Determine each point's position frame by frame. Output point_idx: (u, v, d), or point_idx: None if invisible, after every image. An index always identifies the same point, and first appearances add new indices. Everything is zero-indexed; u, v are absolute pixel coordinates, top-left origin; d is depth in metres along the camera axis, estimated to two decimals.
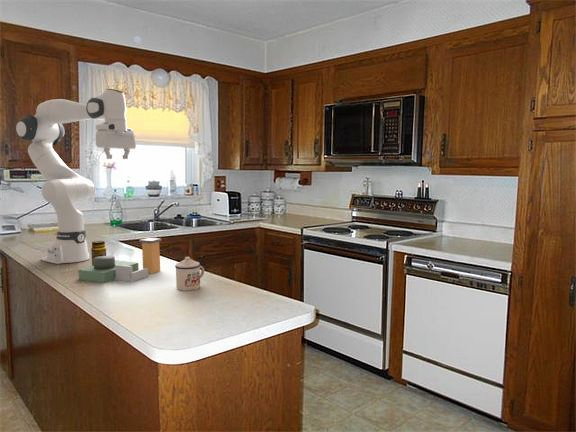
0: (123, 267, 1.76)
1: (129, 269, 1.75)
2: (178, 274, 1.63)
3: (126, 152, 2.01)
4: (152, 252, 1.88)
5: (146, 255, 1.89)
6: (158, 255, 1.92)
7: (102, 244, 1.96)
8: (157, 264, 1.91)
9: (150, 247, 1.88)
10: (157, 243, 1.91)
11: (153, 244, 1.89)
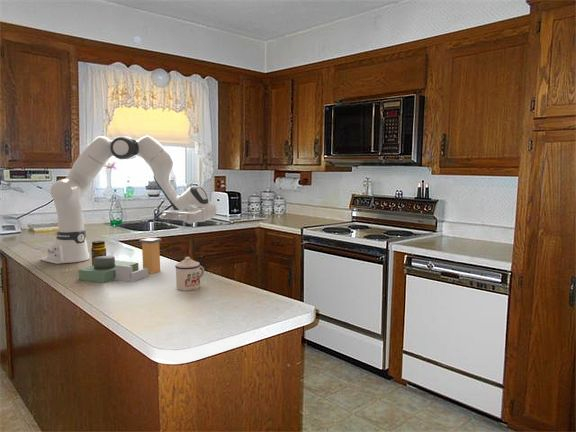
0: (123, 267, 1.76)
1: (129, 269, 1.75)
2: (178, 274, 1.63)
3: (165, 216, 2.05)
4: (152, 252, 1.88)
5: (146, 255, 1.89)
6: (158, 255, 1.92)
7: (102, 244, 1.96)
8: (157, 264, 1.91)
9: (150, 247, 1.88)
10: (157, 243, 1.91)
11: (153, 244, 1.89)
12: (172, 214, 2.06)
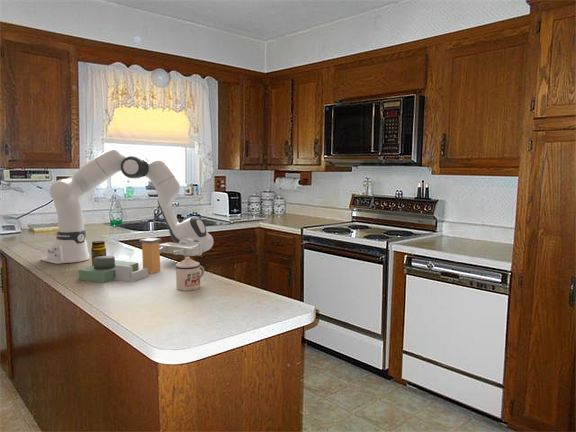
0: (123, 267, 1.76)
1: (129, 269, 1.75)
2: (178, 274, 1.63)
3: None
4: (152, 252, 1.88)
5: (146, 255, 1.89)
6: (158, 255, 1.92)
7: (102, 244, 1.96)
8: (157, 264, 1.91)
9: (150, 247, 1.88)
10: (157, 243, 1.91)
11: (153, 244, 1.89)
12: (169, 248, 2.06)
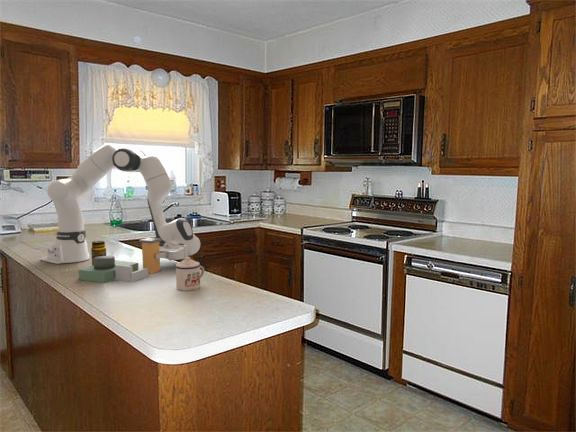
0: (123, 267, 1.76)
1: (129, 269, 1.75)
2: (178, 274, 1.63)
3: None
4: (152, 252, 1.88)
5: (146, 255, 1.89)
6: None
7: (102, 244, 1.96)
8: (157, 264, 1.91)
9: (150, 247, 1.88)
10: (157, 243, 1.91)
11: (153, 244, 1.89)
12: None
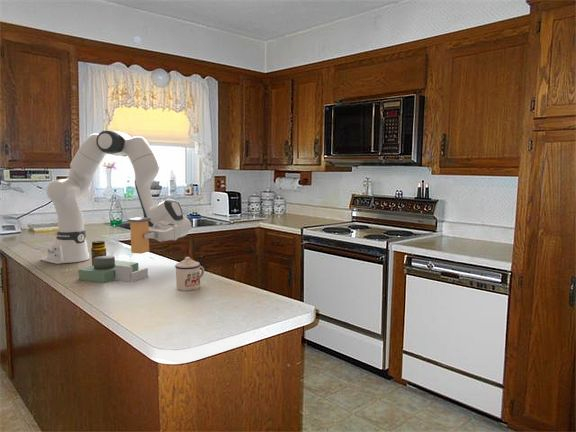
0: (123, 267, 1.76)
1: (129, 269, 1.75)
2: (178, 274, 1.63)
3: None
4: (140, 231, 1.81)
5: (134, 235, 1.82)
6: None
7: (102, 244, 1.96)
8: (145, 244, 1.84)
9: (138, 226, 1.81)
10: (146, 222, 1.84)
11: (142, 223, 1.82)
12: None
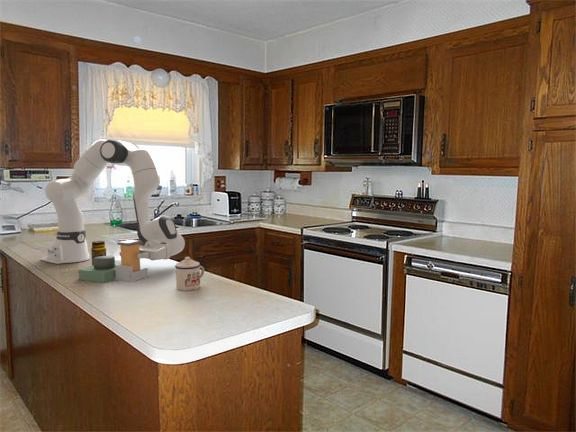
0: (123, 267, 1.76)
1: (129, 269, 1.75)
2: (178, 274, 1.63)
3: None
4: (130, 254, 1.77)
5: (124, 258, 1.78)
6: None
7: (102, 244, 1.96)
8: (136, 268, 1.80)
9: (128, 249, 1.77)
10: (136, 245, 1.80)
11: (132, 246, 1.78)
12: None
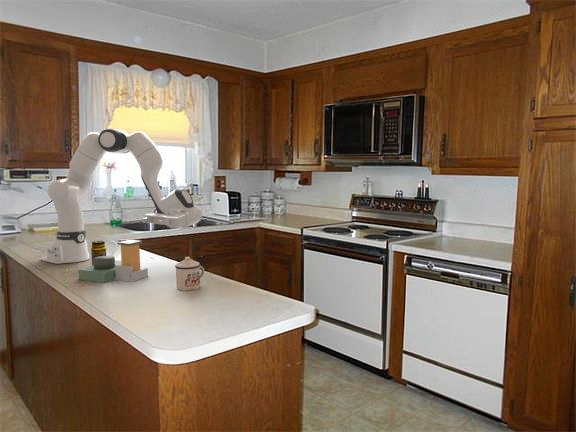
0: (123, 267, 1.76)
1: (129, 269, 1.75)
2: (178, 274, 1.63)
3: (147, 220, 1.94)
4: (131, 255, 1.77)
5: (125, 258, 1.78)
6: (138, 258, 1.81)
7: (102, 244, 1.96)
8: (136, 268, 1.80)
9: (128, 249, 1.77)
10: (137, 246, 1.80)
11: (132, 247, 1.78)
12: (154, 218, 1.96)
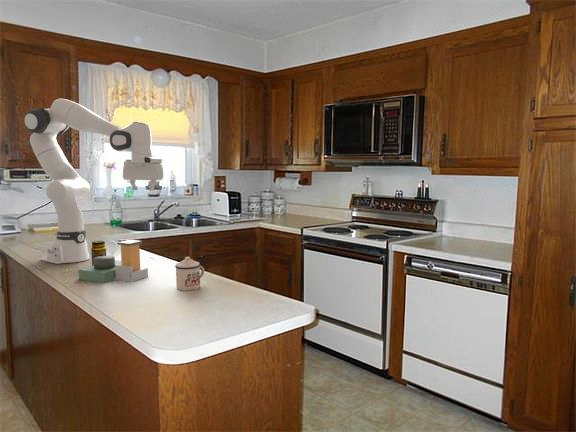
0: (123, 267, 1.76)
1: (129, 269, 1.75)
2: (178, 274, 1.63)
3: (133, 183, 2.01)
4: (131, 255, 1.77)
5: (125, 258, 1.78)
6: (138, 258, 1.81)
7: (102, 244, 1.96)
8: (136, 268, 1.80)
9: (128, 249, 1.77)
10: (137, 246, 1.80)
11: (132, 247, 1.78)
12: None
